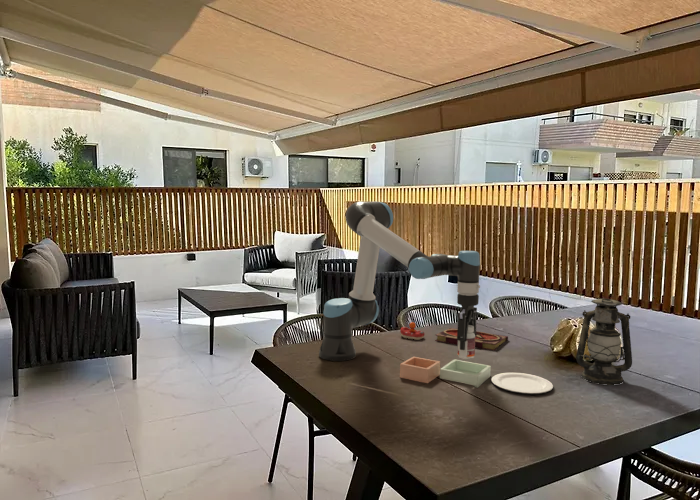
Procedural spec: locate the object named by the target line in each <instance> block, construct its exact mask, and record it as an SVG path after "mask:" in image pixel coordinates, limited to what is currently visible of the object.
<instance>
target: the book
mask: <svg viewBox="0 0 700 500" xmlns="http://www.w3.org/2000/svg"><path fill="white" fill-rule="evenodd" d="M457 330H458V328H454V327H453V328H452V327H449V328H447V329H445V330H443V331H440V332H439V333H436V334H435V336H436V339H434V342H439V343H445V344H451V345H456V346H458V340H457ZM476 334H477V335H476V337H475V349H481V350H487V351H488V350H489V351H494V352H495V351H496V350H498V347H499V345H500V346H501V345H502V344H503V343H505V342H508V341H509V336H507V335H501V334H494V333H490V332H489V333H487V332H482V331H478V330H476Z"/></svg>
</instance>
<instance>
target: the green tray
mask: <svg viewBox="0 0 700 500" xmlns="http://www.w3.org/2000/svg"><path fill="white" fill-rule="evenodd" d="M491 370H492V367H491V365H488V364H483V363H477V362H471V361H467V360H466V361H465V360H461V359H456V358H455V359H452V360H451V361H450V362H448V363H446V364H445V365H443V366H442V367H440V375H439V379H442V380H446V381H451V382H457V383H462V384H466V385H471V386H473V388H477V389H478V388H479V387H481V385H482V384H483V383H485V382H486V381H487V380H488V379H489V378H491V374H492V372H491Z"/></svg>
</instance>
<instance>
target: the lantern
mask: <svg viewBox="0 0 700 500" xmlns="http://www.w3.org/2000/svg"><path fill="white" fill-rule="evenodd" d="M591 302H592V303H593V304H595V305H596V306H595V307H594V309H593V310H590V311H586V310H584V311H582V314H581V315H582V316H583V321H582V325H581V331H580V335H579V340H578V341H579V342H578V346H577V351H576V356H575V359H576V362H577V364H578V365H579V366H580V367H581V368H582V367H583V368H584V370H583V371H582V372H581V374H580V377H581V376H582V377H581V378H582V379H583V378H584V379H586V380H588V381H591V382H594V383H593V384H595V383H599V384H598V385H600V384H607V385H606V386H608V385H614V384H620V383H622V382H623V381H624V382H625V380H624V379H623V376H622V372H627V371H628V370H630V369H631V367H632V366H633V354H632V344H631V343H632V342H631V331H630V319H631V315H630V314H629V313H626V314H625V313H622V312H620V311H619V310H618V306H622V305H623V303H622V302H621V301H618V300H615V299H610V298H596V299H592V300H591ZM591 320H592V321H594V322H595V327H592V328H591V329H590V326H591ZM616 324H620V325H621V326H620V327H621V332H619V330H617V329H616ZM621 336H622V342H621ZM621 345H623V346H621ZM586 346H587V351H588V353H589V355H587V354H586V353H585V352H586V350H585V349H586ZM618 357H619V359H618ZM586 359H589V360H591V361H594V362H593V363H591V362H588V361H586ZM620 361H624V363H623V364H619V365H613V364H612V363H619V362H620ZM584 379H583V380H584ZM586 380H585V381H586ZM588 381H587V382H588ZM591 382H590V383H591Z"/></svg>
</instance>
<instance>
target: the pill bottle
mask: <svg viewBox="0 0 700 500" xmlns="http://www.w3.org/2000/svg"><path fill="white" fill-rule="evenodd" d="M473 332H474V326H472V325H468V332H467V339H466V341H467V359H474V358H475V356H476V355H475V354H476V348H475V334H474V333H473ZM457 356H458V357H459V340H458V345H457Z"/></svg>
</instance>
